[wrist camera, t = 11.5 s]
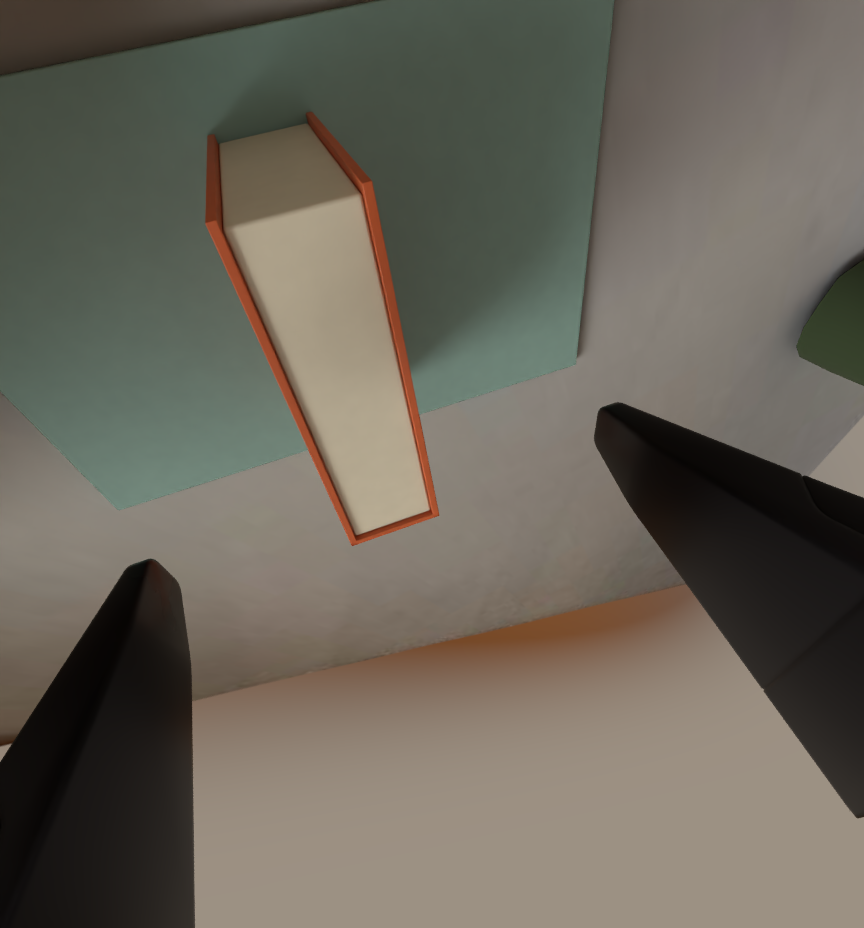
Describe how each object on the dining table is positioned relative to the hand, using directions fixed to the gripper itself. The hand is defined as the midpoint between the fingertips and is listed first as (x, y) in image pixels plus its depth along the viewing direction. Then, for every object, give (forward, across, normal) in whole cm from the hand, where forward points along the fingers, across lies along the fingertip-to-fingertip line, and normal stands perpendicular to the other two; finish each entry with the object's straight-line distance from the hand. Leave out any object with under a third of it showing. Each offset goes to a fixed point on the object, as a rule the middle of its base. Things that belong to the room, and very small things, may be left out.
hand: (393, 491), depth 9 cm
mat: (+11, 0, +1) cm, 11 cm away
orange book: (+11, 0, +1) cm, 11 cm away
